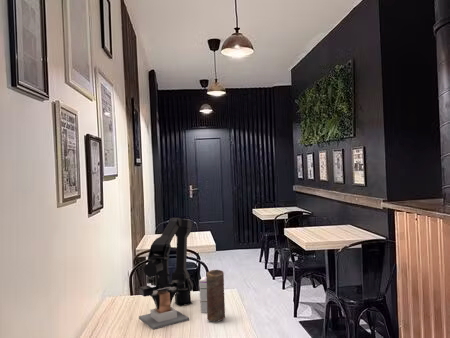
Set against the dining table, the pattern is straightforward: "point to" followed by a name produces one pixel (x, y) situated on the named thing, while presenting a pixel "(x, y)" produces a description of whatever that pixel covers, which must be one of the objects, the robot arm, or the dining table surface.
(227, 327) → the dining table surface
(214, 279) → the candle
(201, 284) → the syrup box
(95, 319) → the dining table surface
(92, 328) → the dining table surface
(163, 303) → the peg
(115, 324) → the dining table surface
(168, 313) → the socket
